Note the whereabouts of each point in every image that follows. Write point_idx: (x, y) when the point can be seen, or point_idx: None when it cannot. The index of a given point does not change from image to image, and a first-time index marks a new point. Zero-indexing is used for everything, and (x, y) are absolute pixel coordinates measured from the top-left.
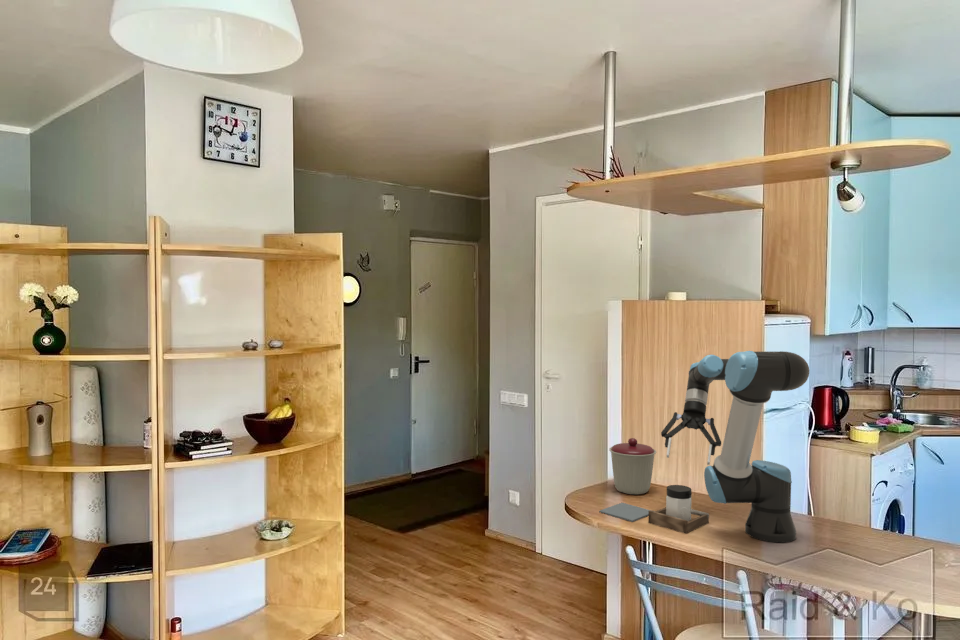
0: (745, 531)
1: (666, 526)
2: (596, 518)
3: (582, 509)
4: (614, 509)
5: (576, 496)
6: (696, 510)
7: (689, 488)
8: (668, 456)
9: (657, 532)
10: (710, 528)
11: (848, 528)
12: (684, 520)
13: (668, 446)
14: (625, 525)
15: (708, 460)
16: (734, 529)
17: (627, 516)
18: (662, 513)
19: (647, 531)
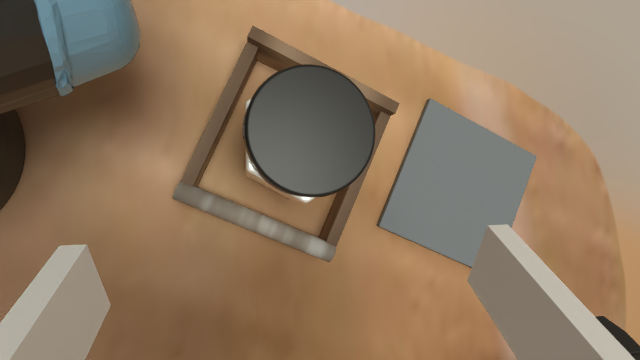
0: (22, 134)
1: None
2: (526, 96)
3: (577, 165)
4: (499, 188)
5: (621, 288)
6: (226, 209)
7: (257, 142)
8: (479, 255)
9: (341, 27)
10: (169, 133)
11: None
12: (259, 34)
13: (567, 298)
14: (440, 61)
15: (65, 257)
16: (73, 156)
17: (451, 132)
18: None
19: (371, 27)
